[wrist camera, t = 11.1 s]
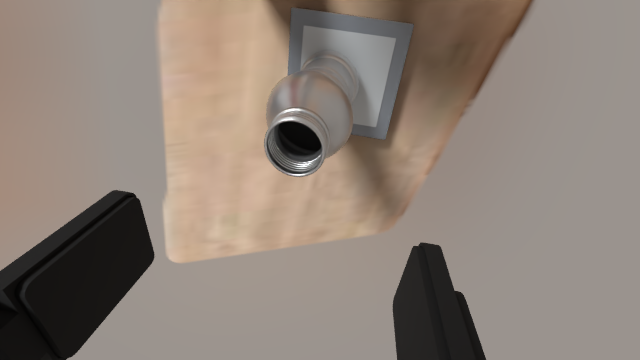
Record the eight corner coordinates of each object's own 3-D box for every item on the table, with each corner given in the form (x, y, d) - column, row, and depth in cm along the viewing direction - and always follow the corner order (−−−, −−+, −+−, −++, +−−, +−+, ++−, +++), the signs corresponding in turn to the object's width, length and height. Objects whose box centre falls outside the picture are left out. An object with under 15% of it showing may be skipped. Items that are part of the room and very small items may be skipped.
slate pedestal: (296, 7, 33) (291, 7, 31) (411, 23, 32) (414, 24, 30) (289, 117, 40) (284, 124, 37) (384, 132, 39) (385, 140, 37)
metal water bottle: (321, 116, 36) (281, 212, 19) (292, 66, 34) (215, 125, 16) (369, 90, 34) (371, 174, 17) (341, 34, 31) (311, 65, 14)
